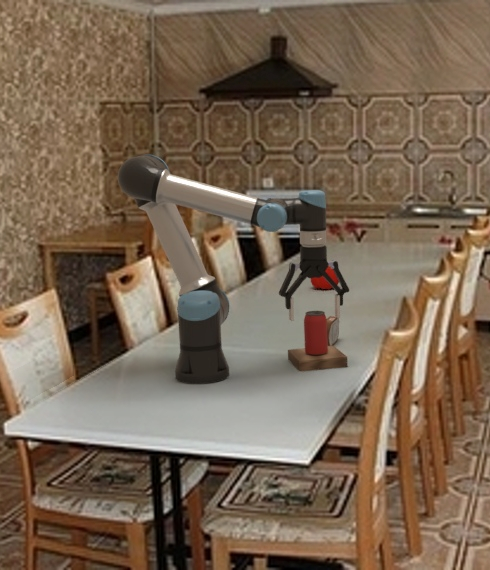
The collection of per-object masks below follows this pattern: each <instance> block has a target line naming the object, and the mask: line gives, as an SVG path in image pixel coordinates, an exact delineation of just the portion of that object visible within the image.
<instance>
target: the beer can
mask: <svg viewBox="0 0 490 570" xmlns="http://www.w3.org/2000/svg"><path fill="white" fill-rule="evenodd" d="M325 314H326V312H325V311H323V310H310V311H309V310H308V311H306V312H305V315H304V319H303V334H304V348H305V352H306V354H308V355H315V356H317V355H324V354H326V353H327V352H328V340H327V317H326V315H325Z"/></svg>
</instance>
